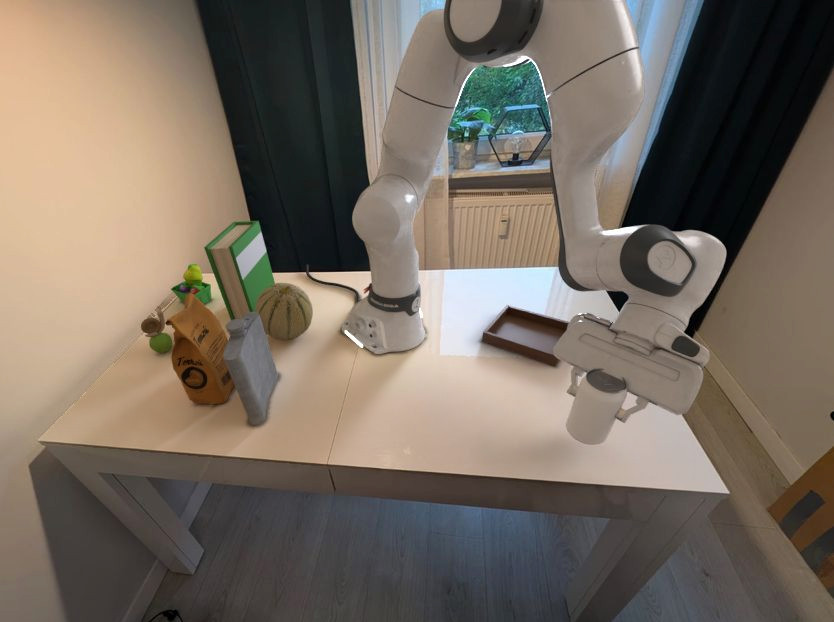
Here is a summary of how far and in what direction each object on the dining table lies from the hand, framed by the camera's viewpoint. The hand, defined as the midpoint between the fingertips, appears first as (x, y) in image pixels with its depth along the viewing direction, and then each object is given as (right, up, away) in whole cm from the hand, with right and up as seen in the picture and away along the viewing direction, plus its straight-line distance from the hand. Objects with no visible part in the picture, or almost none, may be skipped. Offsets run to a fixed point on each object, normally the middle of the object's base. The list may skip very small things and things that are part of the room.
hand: (594, 407), depth 61 cm
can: (+1, -5, +4) cm, 7 cm away
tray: (+3, +12, +32) cm, 34 cm away
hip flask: (-60, -1, +23) cm, 64 cm away
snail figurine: (-91, +9, +40) cm, 100 cm away
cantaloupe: (-58, +13, +41) cm, 72 cm away
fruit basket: (-92, +25, +61) cm, 113 cm away
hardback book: (-70, +21, +53) cm, 90 cm away
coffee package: (-72, 0, +27) cm, 77 cm away
